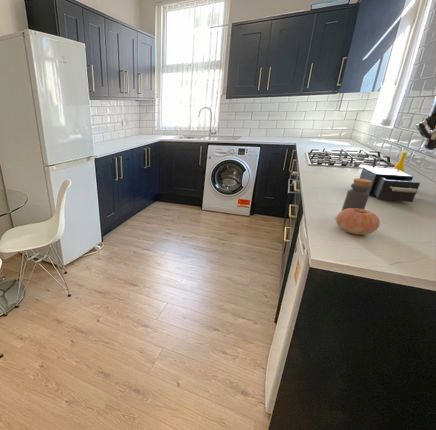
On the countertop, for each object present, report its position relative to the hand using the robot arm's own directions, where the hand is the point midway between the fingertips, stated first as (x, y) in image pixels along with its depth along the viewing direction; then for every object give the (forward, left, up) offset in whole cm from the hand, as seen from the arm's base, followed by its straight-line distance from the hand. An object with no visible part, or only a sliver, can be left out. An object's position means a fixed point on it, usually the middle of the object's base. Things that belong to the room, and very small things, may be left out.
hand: (429, 149), depth 104 cm
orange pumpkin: (+21, +41, -23) cm, 51 cm away
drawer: (+4, -8, -22) cm, 24 cm away
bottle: (+21, +30, -23) cm, 43 cm away
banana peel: (-1, -36, -23) cm, 43 cm away
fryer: (+5, -18, -23) cm, 30 cm away
